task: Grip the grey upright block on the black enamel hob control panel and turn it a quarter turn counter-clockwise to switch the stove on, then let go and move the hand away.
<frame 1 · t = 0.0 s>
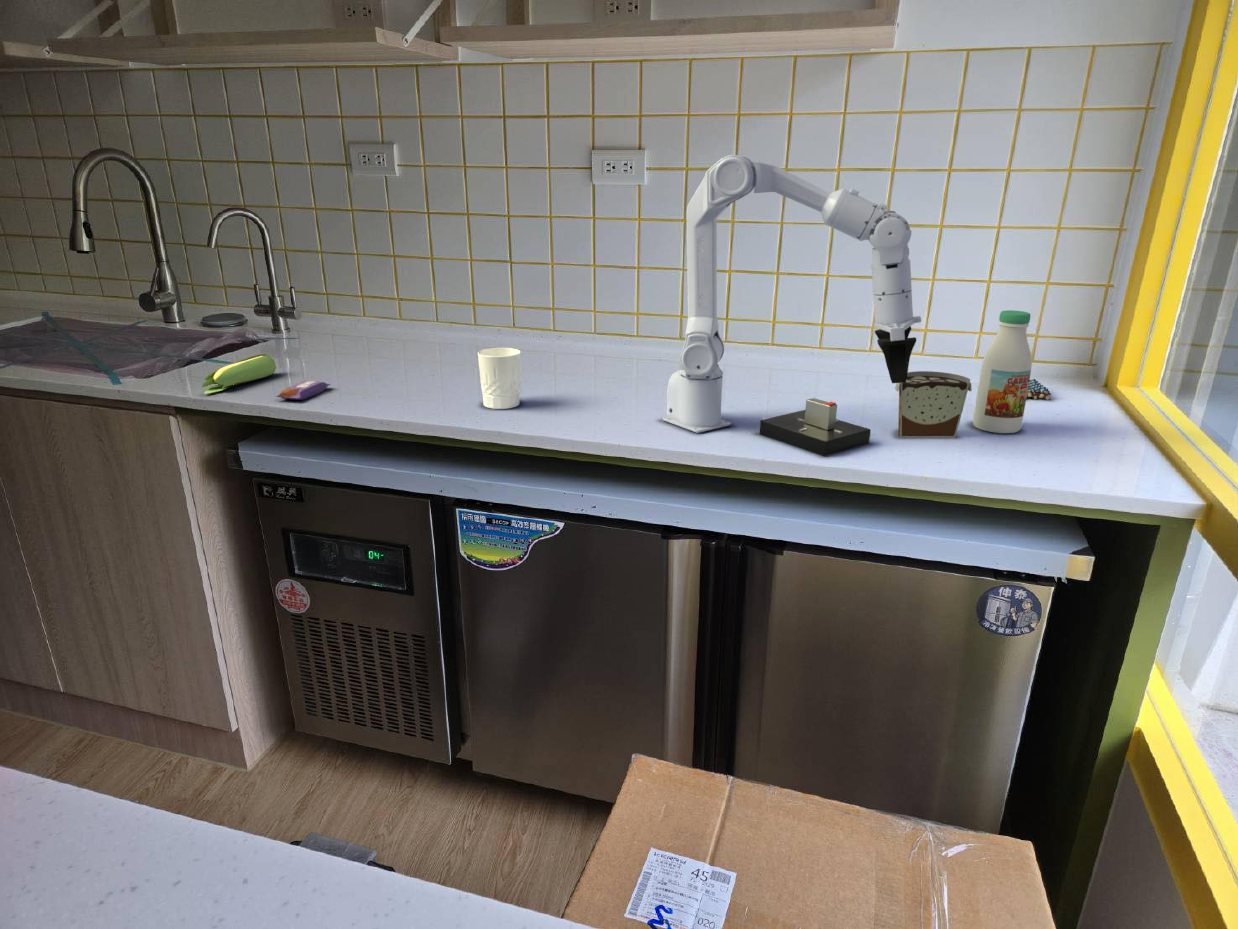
hand: (897, 376, 132), 11 cm above the countertop, tool pointing down, fingers open, 7 cm apart
edible corn: (241, 385, 167), on the countertop
snack package: (304, 395, 159), on the countertop
food container: (920, 433, 139), on the countertop
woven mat: (1015, 393, 165), on the countertop
grey upright block: (820, 413, 133), point 5 cm above the countertop, hinge at 0.0°
milk bottle: (995, 428, 142), on the countertop
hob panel: (813, 439, 135), on the countertop
white cup: (501, 405, 154), on the countertop
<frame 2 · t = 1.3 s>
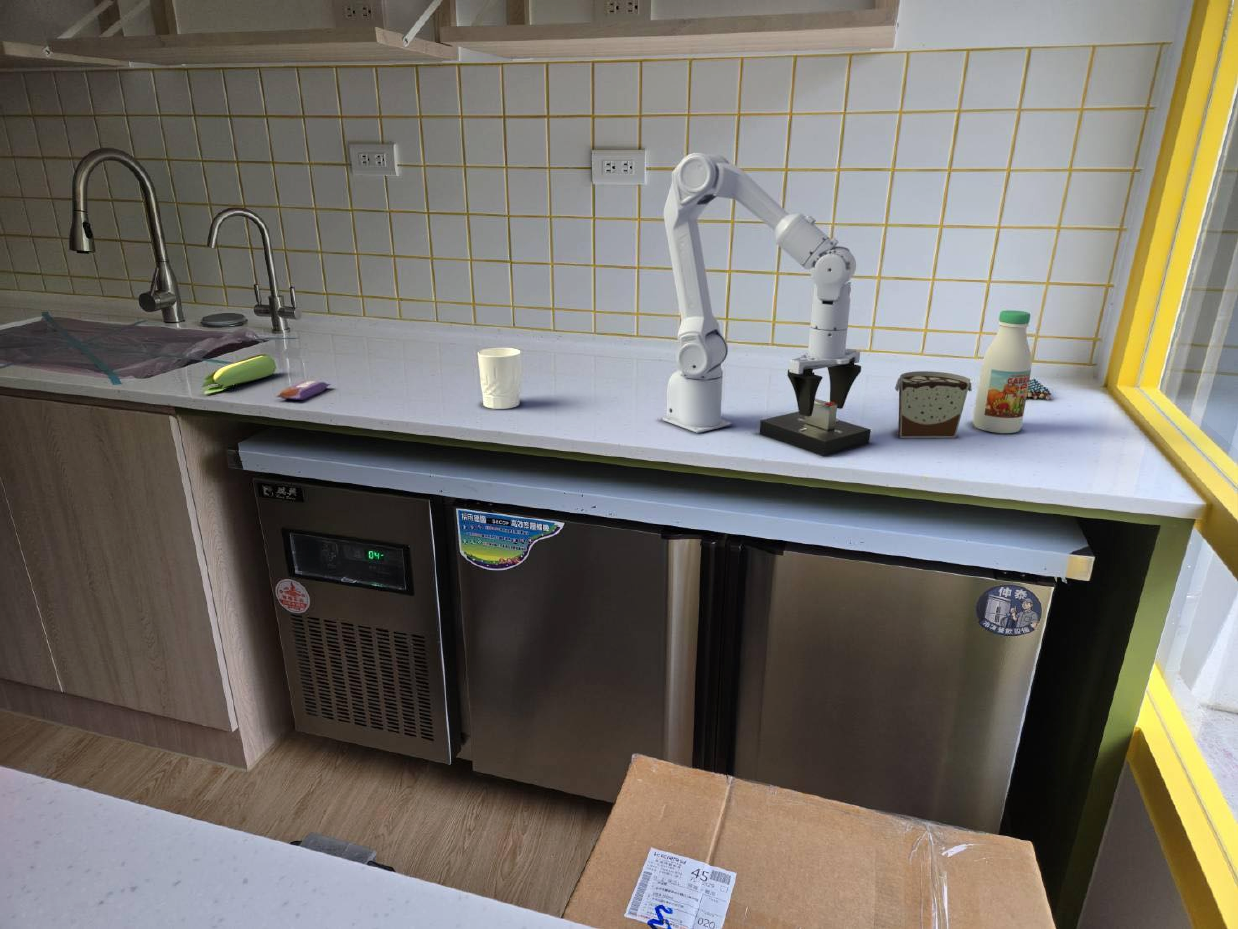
hand: (821, 411, 133), 5 cm above the countertop, tool pointing down, fingers open, 7 cm apart
nothing on the countertop moved.
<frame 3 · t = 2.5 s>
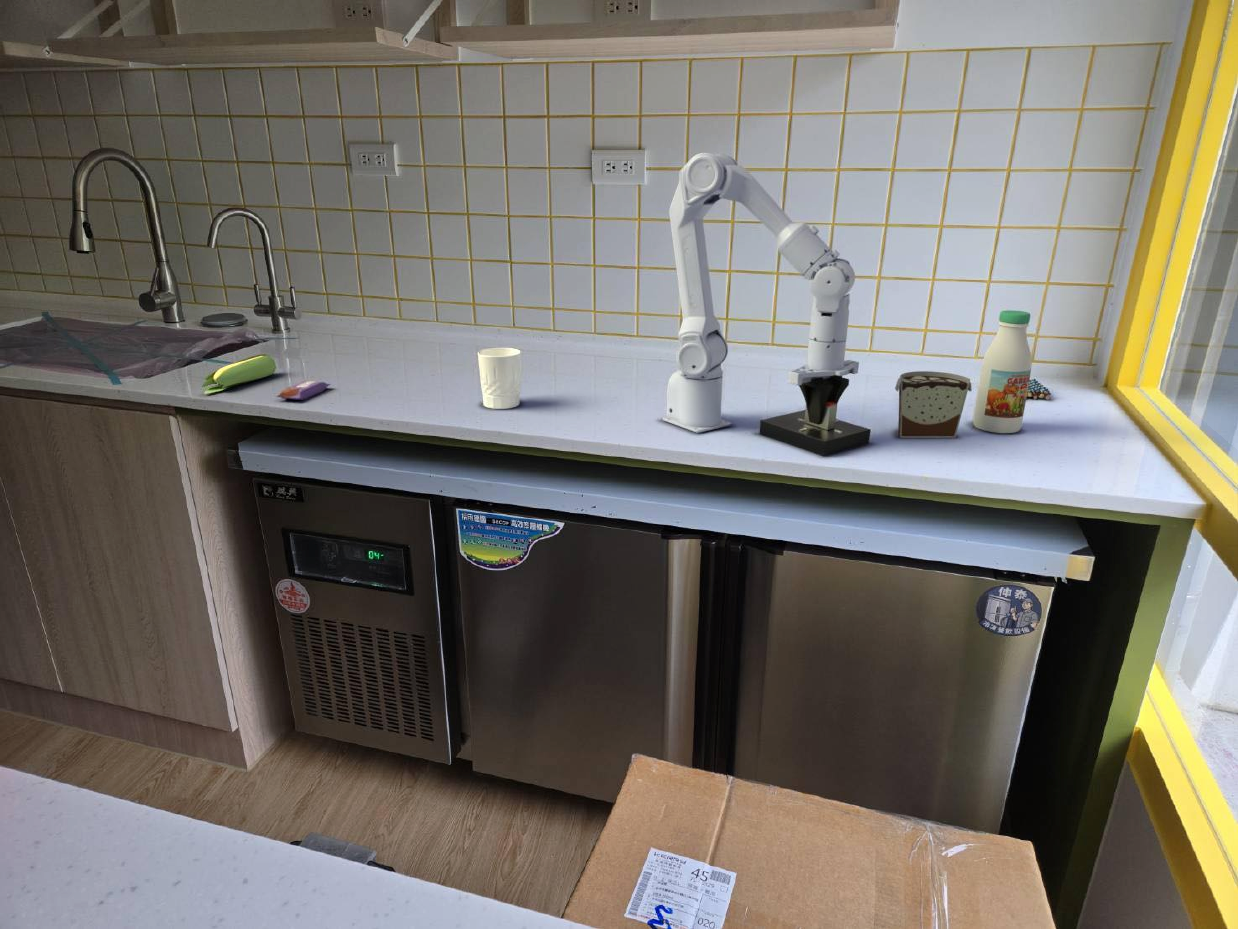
hand: (819, 421, 133), 3 cm above the countertop, tool pointing down, fingers closed on grey upright block, 2 cm apart
grey upright block: (820, 413, 133), point 5 cm above the countertop, hinge at -0.2°, touching gripper
everything else where it was.
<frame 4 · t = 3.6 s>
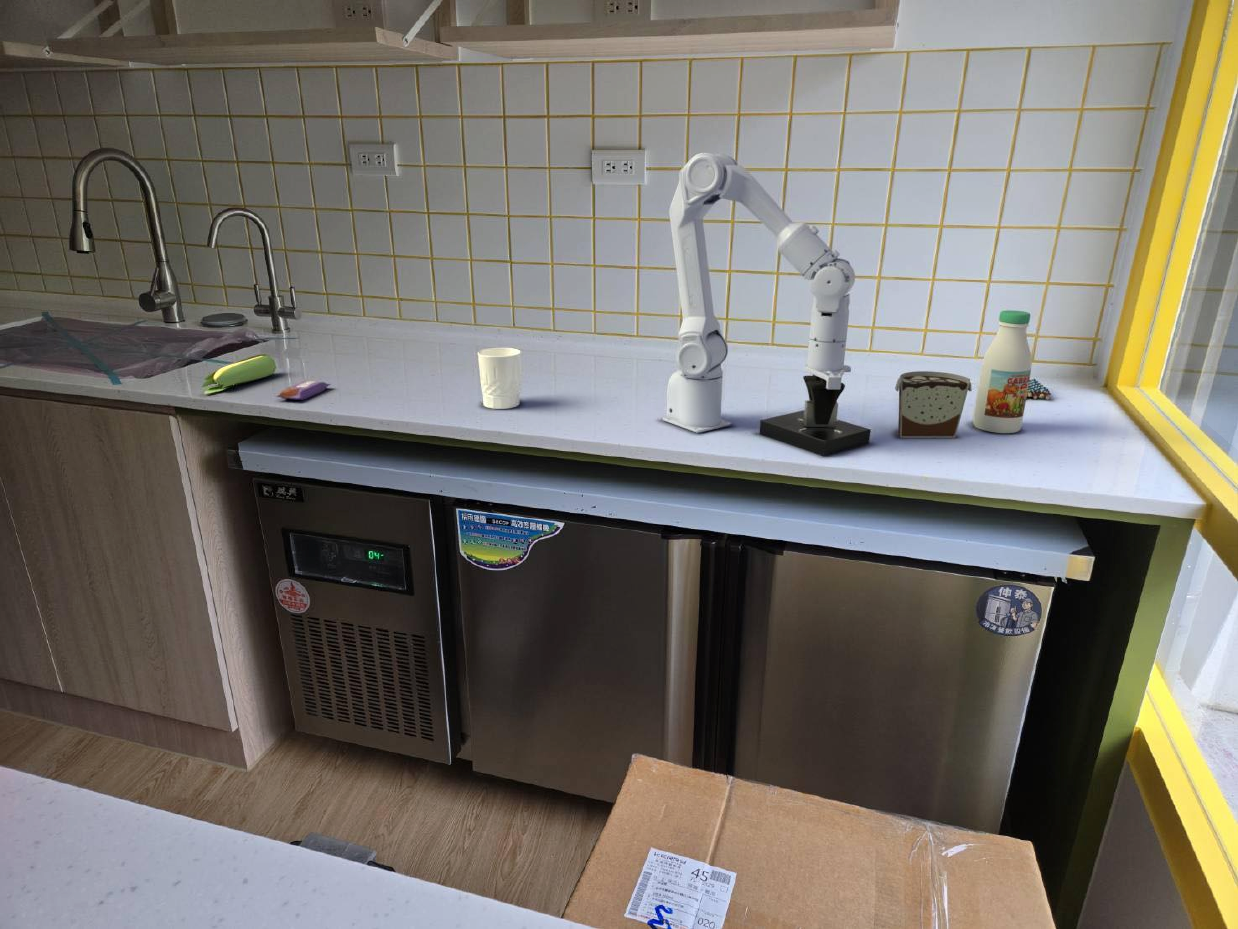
hand: (819, 421, 133), 3 cm above the countertop, tool pointing down, fingers closed on grey upright block, 2 cm apart
grey upright block: (820, 413, 133), point 5 cm above the countertop, hinge at 51.9°, touching gripper
everything else where it was.
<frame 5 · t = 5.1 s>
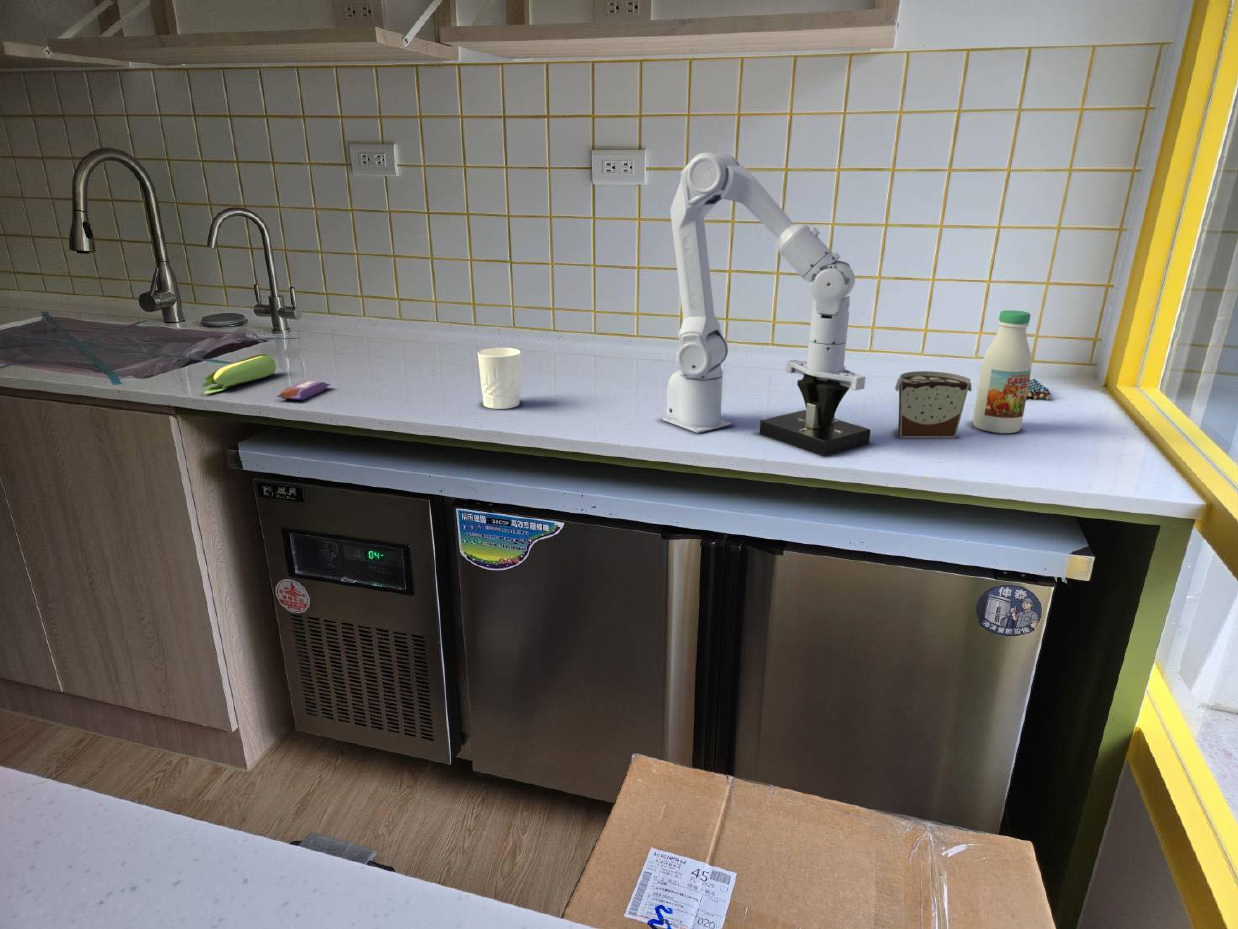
hand: (819, 423, 133), 3 cm above the countertop, tool pointing down, fingers closed on grey upright block, 2 cm apart
grey upright block: (820, 413, 133), point 5 cm above the countertop, hinge at 89.1°, touching gripper
everything else where it was.
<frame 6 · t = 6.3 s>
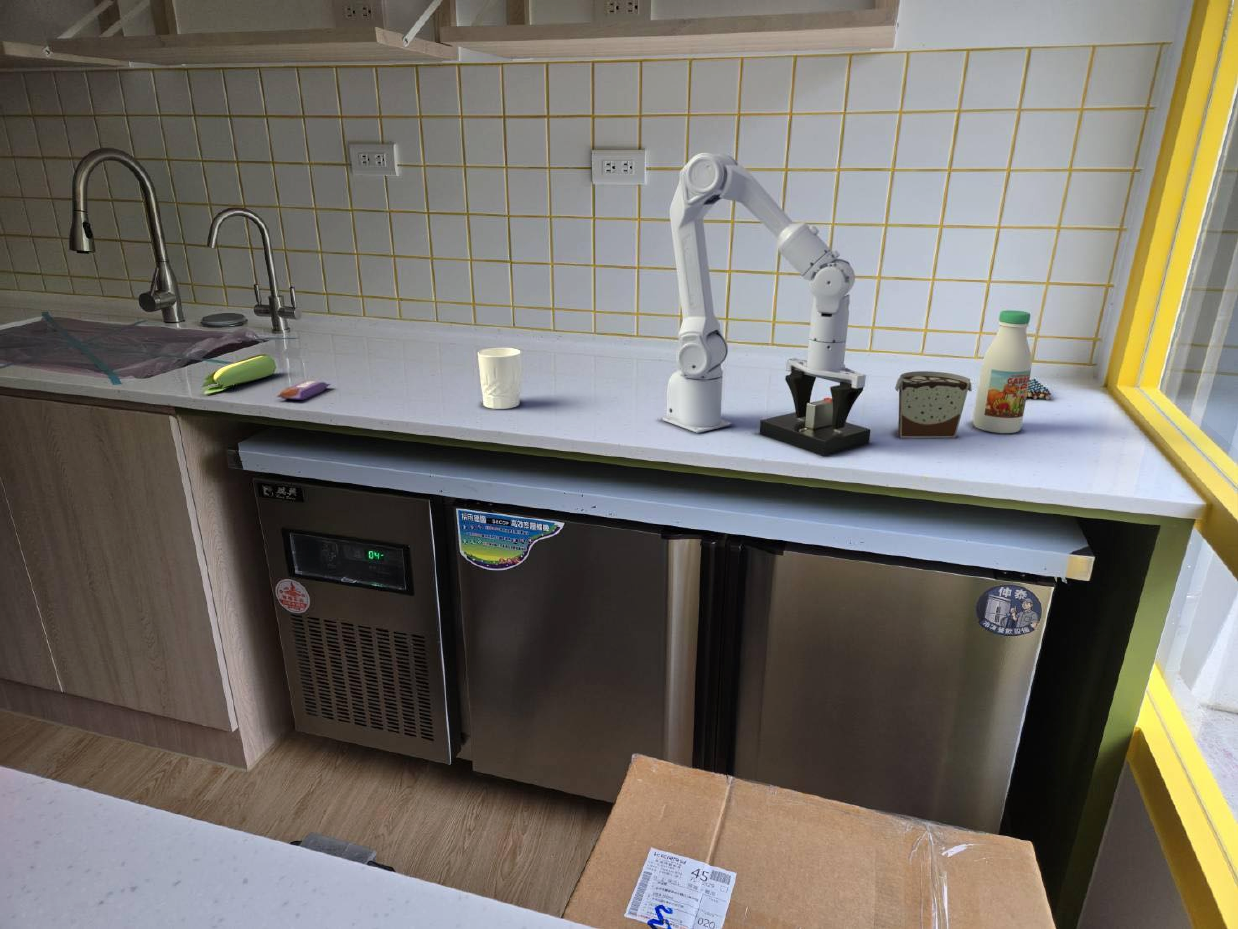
hand: (819, 422, 133), 3 cm above the countertop, tool pointing down, fingers open, 7 cm apart
grey upright block: (820, 413, 133), point 5 cm above the countertop, hinge at 89.3°
everything else where it was.
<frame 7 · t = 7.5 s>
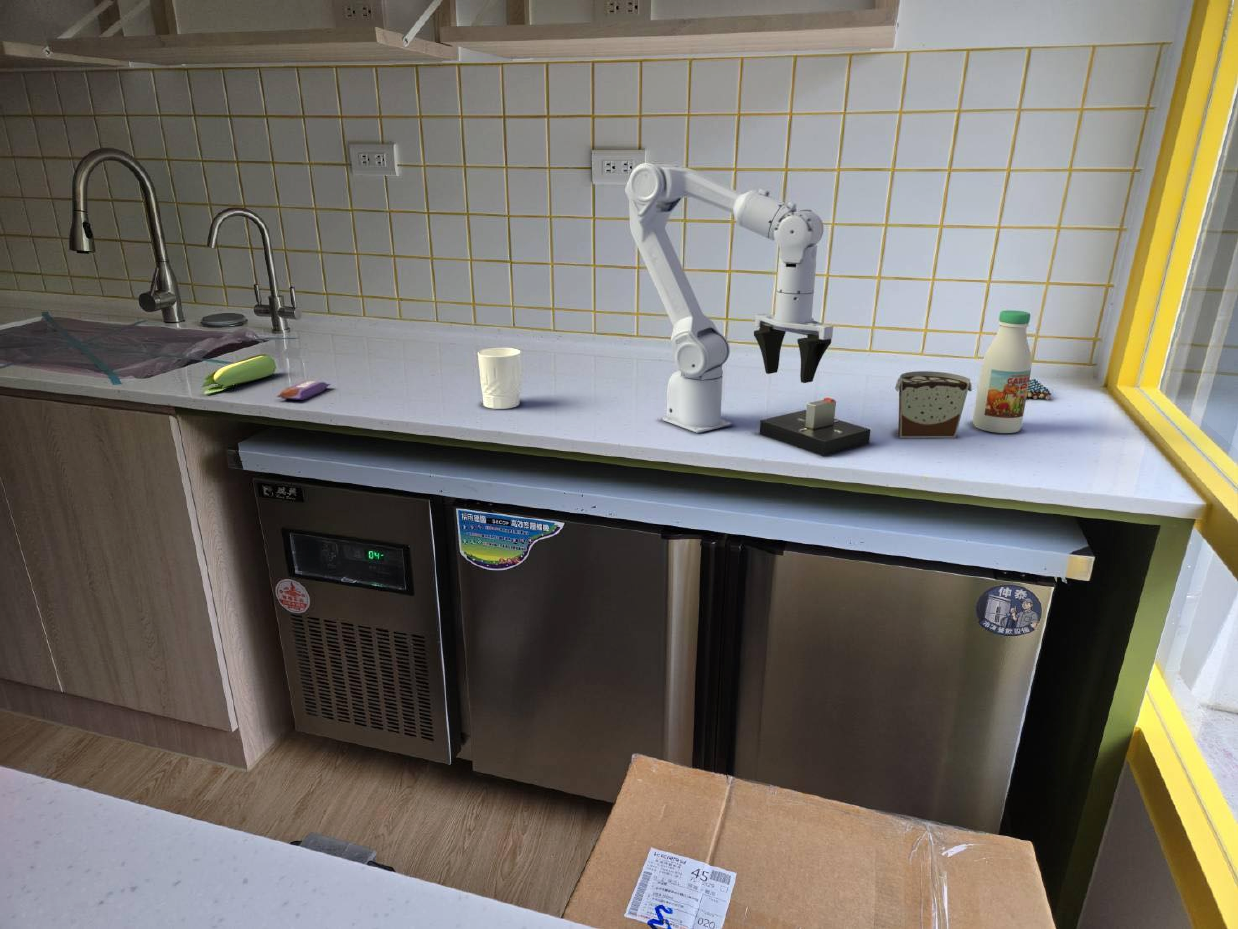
hand: (788, 377, 132), 10 cm above the countertop, tool pointing down, fingers open, 7 cm apart
nothing on the countertop moved.
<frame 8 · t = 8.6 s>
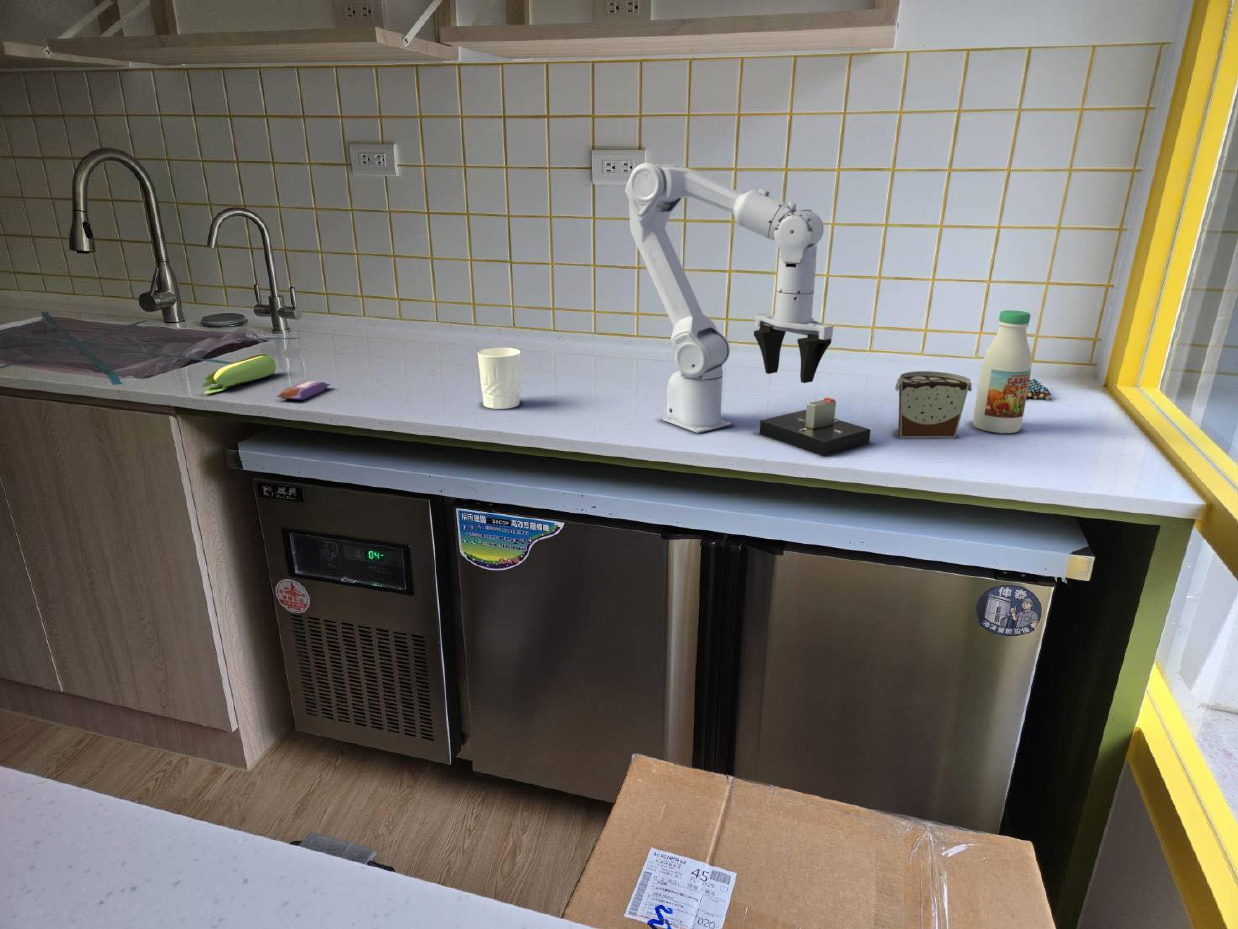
hand: (788, 377, 132), 10 cm above the countertop, tool pointing down, fingers open, 7 cm apart
nothing on the countertop moved.
at the end: grey upright block at +89° (first picture: +0°); the gripper is holding nothing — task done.
